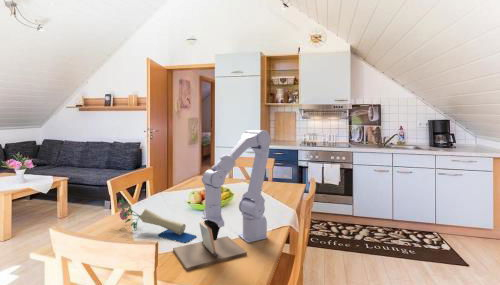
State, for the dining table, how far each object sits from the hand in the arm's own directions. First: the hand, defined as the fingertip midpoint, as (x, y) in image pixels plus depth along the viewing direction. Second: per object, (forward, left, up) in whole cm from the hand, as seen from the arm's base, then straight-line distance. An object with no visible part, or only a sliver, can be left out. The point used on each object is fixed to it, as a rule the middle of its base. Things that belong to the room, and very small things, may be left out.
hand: (213, 239), depth 104 cm
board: (+1, 0, -5) cm, 5 cm away
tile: (+2, 0, +2) cm, 2 cm away
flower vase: (+16, -33, -5) cm, 37 cm away
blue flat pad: (+7, -20, -5) cm, 22 cm away
